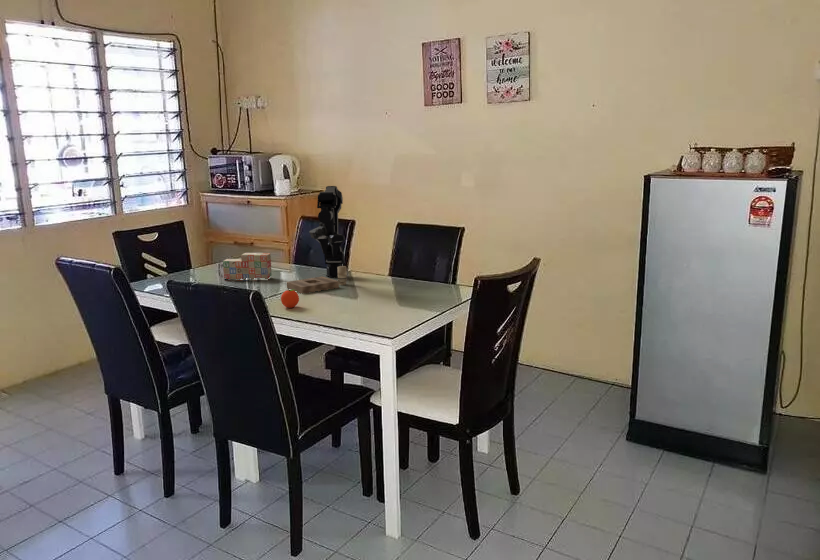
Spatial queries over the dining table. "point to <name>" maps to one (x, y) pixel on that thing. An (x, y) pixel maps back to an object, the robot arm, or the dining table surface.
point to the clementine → (290, 298)
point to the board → (313, 284)
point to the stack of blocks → (248, 266)
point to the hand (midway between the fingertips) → (329, 255)
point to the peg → (342, 275)
